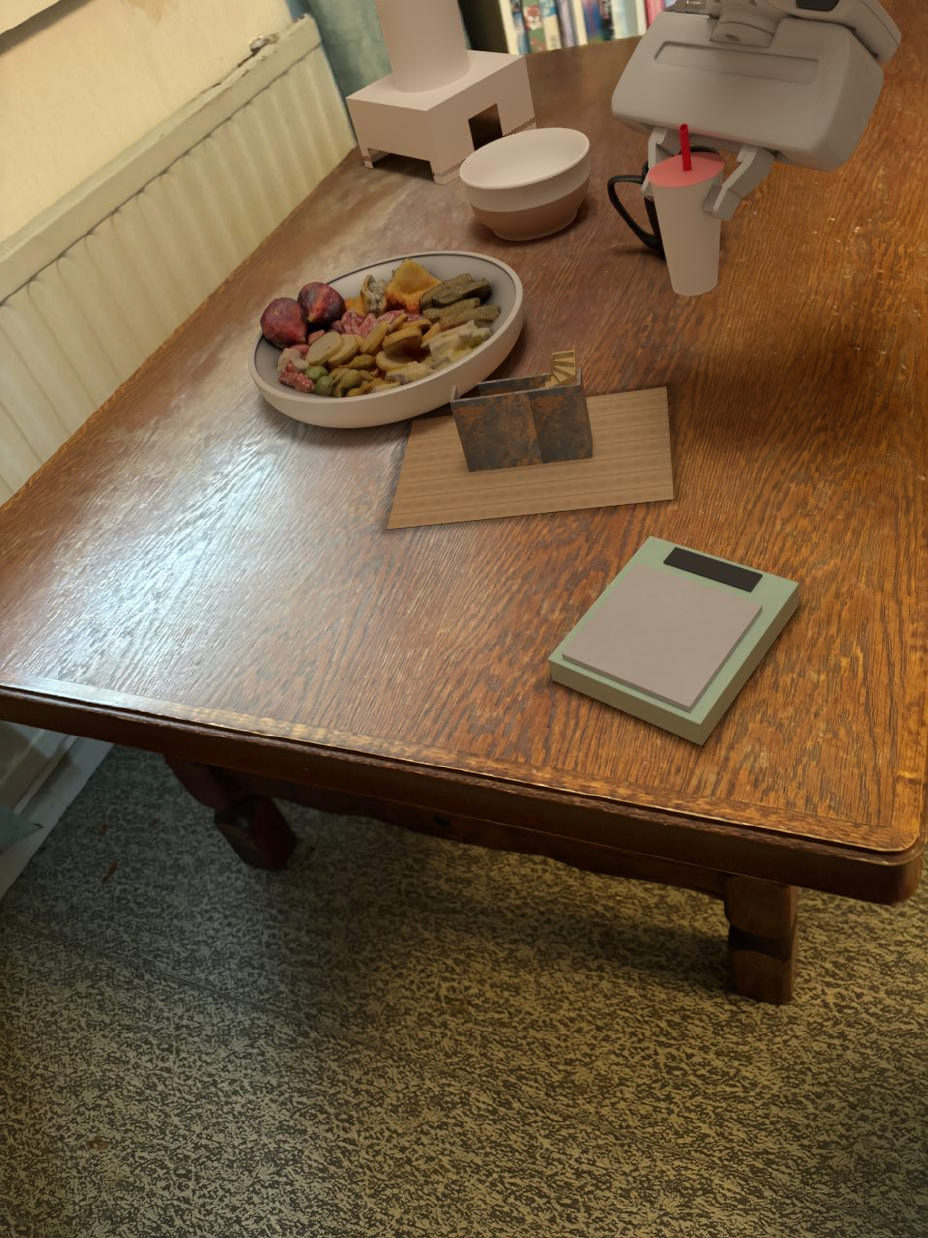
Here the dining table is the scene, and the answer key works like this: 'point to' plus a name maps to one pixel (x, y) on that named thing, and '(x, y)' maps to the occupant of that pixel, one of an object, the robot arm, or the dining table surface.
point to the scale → (675, 637)
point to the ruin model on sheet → (535, 451)
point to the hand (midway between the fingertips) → (683, 207)
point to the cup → (688, 216)
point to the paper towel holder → (435, 88)
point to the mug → (646, 238)
